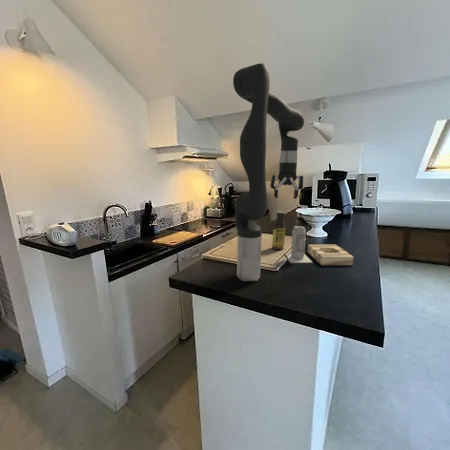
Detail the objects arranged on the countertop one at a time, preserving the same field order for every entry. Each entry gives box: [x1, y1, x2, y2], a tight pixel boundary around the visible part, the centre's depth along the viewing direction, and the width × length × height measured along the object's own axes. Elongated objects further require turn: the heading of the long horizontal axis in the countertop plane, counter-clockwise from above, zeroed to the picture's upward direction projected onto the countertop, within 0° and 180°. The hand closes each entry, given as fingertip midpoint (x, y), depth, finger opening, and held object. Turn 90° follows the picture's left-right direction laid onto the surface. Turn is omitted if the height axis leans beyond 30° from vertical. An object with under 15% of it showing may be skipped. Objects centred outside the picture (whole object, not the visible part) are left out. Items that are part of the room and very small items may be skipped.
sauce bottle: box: [271, 211, 286, 250], centre depth 136 cm, size 6×6×20 cm
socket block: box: [307, 244, 354, 266], centre depth 124 cm, size 18×14×4 cm
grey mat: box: [287, 253, 314, 264], centre depth 124 cm, size 12×10×1 cm
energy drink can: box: [290, 225, 307, 259], centre depth 122 cm, size 6×6×15 cm
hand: (285, 198), depth 118 cm, fingers open, 8 cm apart
